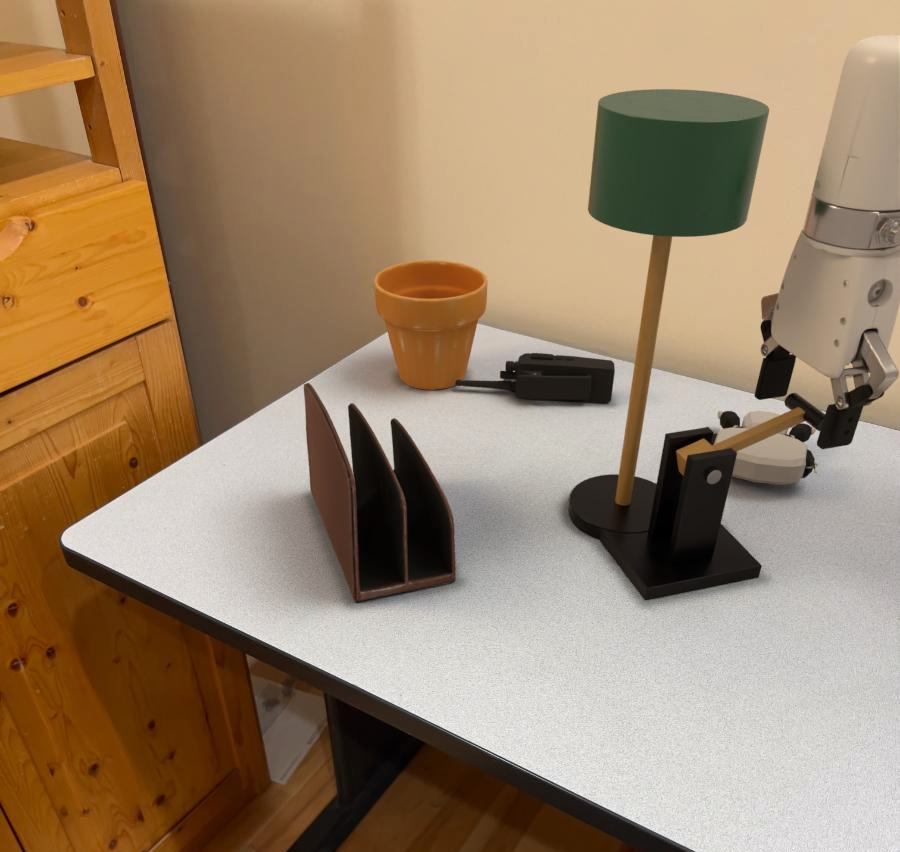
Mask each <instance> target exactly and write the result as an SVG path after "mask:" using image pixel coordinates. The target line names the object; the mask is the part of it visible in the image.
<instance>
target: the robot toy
mask: <svg viewBox="0 0 900 852" xmlns="http://www.w3.org/2000/svg"><path fill="white" fill-rule="evenodd" d="M780 415H781V414H779V413H775V412H770V411H764V410H754V411H749V412H748V413H747V414H745V415H744V416H743V419H742V422H741V418H740V416H739V415H738V414H737V412H735V411H733V410H725V411H723V410H718V411H717V418H718V420H719V425H720V427H721V428H720V429H719V430H718V432H717V433H713V438H712V442H711V445H715V444H717V443H719V442H721V441H724V440H726V439H728V438H730V437H733V436H735V435H737V434H739V433H741V432H744V431H746V430H748V429H750V428H753V427H755V426H757V425H759V424H762V423H764V422H766V421H768V420H771V419H773V418H775V417H777V416H780ZM788 431H789V432H788ZM816 432H817V430H816V429H815V428H814V427H812V426H811V425H810V424H808V423H806V422H805V423H804V422H802V423H800V424H798V425H795V426H793V427H791V428H790V430H789V429H786V430H784V431H782V432H780V433H777V434H775V435H773V436H771V437H768V438H766V439H764V440H762V441H759V442H757V443H755V444H753V445H751V446H748V447H746V448H744V449H742V450H739V451H737V457H736V461H735V465H734V469H733V474H732V477H733V478H737V479H741V480H745V481H749V482H753V483H762V484H769V485H773V486H781V485H786V486H787V485H791V484H792V485H793V484H796V483H799V482H800V481H801V479H806V478H807V477H809V475H810V474H811V473H812V472H813V473H814V474H818V471H819V469H818V462H815V461H816V458H815V457H814V455H813V452H812V451H811V450H810V449H808V445H807V444H806V442H807V441H809V440H810V438H811V436H813V435H814V434H815V433H816ZM813 470H814V471H813Z"/></svg>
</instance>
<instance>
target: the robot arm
mask: <svg viewBox="0 0 900 852" xmlns="http://www.w3.org/2000/svg"><path fill="white" fill-rule="evenodd" d="M899 307H900V34H883V35H882V34H881V35H872V36H868V37H866V38H863V39H860V40H859V41H857V42H856V43H855V44H854V45H852V47H851V48H850V50H849V51H848V53H846V56H845V58H844V61H843V65H842V69H841V71H840V76H839V80H838V85H837V88H836V92H835V97H834V101H833V105H832V109H831V113H830V118H829V121H828V125H827V130H826V134H825V137H824V143H823V146H822V150H821V155H820V159H819V162H818V166H817V171H816V175H815V179H814V183H813V187H812V192H811V195H810V199H809V203H808V207H807V211H806V215H805V218H804V223H803V228H802V229H801V230H800V233H799V235H798V238H797V240H796V242H795V244H794V246H793V250H792V252H791V254H790V257H789V260H788V263H787V265H786V268H785V272H784V275H783V278H782V281H781V283H780V288H779V291H778V292H776V293H773V294H772V293H771V294H768V295H764V296H762V298H761V300H760V309H761V320H762V321H761V323H760V328H759V329H760V333H761V337H762V341H763V343H762V344H761V346H760V354H761V356H762V357H763V358H762V362H761V366H760V369H759V374H758V379H757V382H756V386H755V391H754V398H756V400H758V401H762V400H769V399H775V398H782V397H785V396H787V395H788V392H789V388H790V383H791V380H792V376H793V372H794V369H795V365H796V359H799V360H800V361H802V362H803V363H805V364H806V365H808V366H809V367H811V368H812V369H814V370H815V371H816V372H818V373H820V374H822V375H823V376H825V377H826V378H829V380H830V384H831V389H832V395H833V400H834V403H831V404H828V405H827V407H826V410H825V412H824V414H825V417H824V420H823V423H822V427H821V430H820V431H819V434H818V437H817V440H816V446H817V447H818V448H819V449H821V450H827V449H833V448H839V447H845V446H849V445H851V444H852V442H853V440H854V436H855V434H856V430H857V427H858V425H859V422H860V417H861V416H862V412H863V409H864V407H868V406H870V405H871V404H872V403H873V402H874V401H876V400H879V399H880V398H882V397H883V396H884V394H885V393H886V392H885V391H888V389H890V387H891V386H892V385H893V384H894V383H895V381H897V380H898V378H899V375H900V374H899V373H900V372H899V370H898V367H897V365H896V364H895V362H894V360H893V358H892V357H891V355H890V353H889V352H888V349H889V346H890V344H891V339H892V335H893V332H894V329H895V324H896V320H897V316H898V313H899ZM850 364H851V365H852V367H848V368H846V366H849V365H850ZM869 374H870V375H869ZM851 378H852V379H853V385H854V388H853V389H852V390H850V391H849V388H848V381H847V379H851Z"/></svg>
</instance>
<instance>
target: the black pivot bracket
mask: <svg viewBox="0 0 900 852" xmlns="http://www.w3.org/2000/svg"><path fill="white" fill-rule="evenodd" d="M713 434H715V433H714V430H712V429H711V427H709V426H706V427H699V428H693V429H687V430H681V431H680V430H679V431H674V432H673V431H672V432H668V433H665V434H664V441H663V445H662V451H661V456H660V462H659V466H658V467H659V468H658V474H657V479H656V490H655V496H654V501H653V507H652V513H651V518H650V524H649V530H648V531H647V532H638V533H624V532H616V531H610V530H606V529H601V535H600V540H599V542H600V544H601V545H602V546H603V548H604V549H605V550H606V551H607V553H608V554H609V555H610V557H611V558H612V560H613V561H614V562H615V563H616V565H617V566H618V567H619V568H620V570H621V572H623V574H624V576H625V577H626V578H627V579H628V581H629V582H630V583H631V585H632V586H633V587H634V589H635V590H636V591H637V592H638V594H639V595H640V596H641V598H642V599H643V600H644V601H645V602H647V601H651V600H657V599H661V598H667V597H672V596H676V595H681V594H685V593H691V592H697V591H701V590H706V589H711V588H715V587H721V586H726V585H731V584H734V583H735V584H736V583H740V582H744V581H749V580H754V579H759V578H760V574H761V570H762V569H763V565H762V564H761V563H760V562H759V561H758V560H757V559H756V558H755V557H754V556H753V555H752V554H751V552H750V551H749V550H748V549H746V547H744V545H743V544H742V543H741V542H740V541H739V540H738V539H737V538H736V537H735V536H734V535H733V534H732V533H731V532H730V531H729V530H728V529H727V528H726V527H725V526H724V525H723V524H722V520H723V515H724V511H725V506H726V503H727V498H728V495H729V489H730V486H731V481H732V474H733V469H734V465H735V461H736V457H737V452H736V451H735V450H733V449H732V448H728V449H722V450H716V451H710V452H704V453H697V454H691V455H688V456H687V460H686V466H685V471H684V476H683V475H682V474H681V473H680V472H679V468H678V461H677V454H676V450H679V449H681V448H683V447H685V446H688V445H690V444H692V443H694V442H697V441H699V440H701V439H703V438H704V439H705V440H706V441H707V442H708V443H709V444H711V442H712V438H713Z"/></svg>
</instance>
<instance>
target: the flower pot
mask: <svg viewBox="0 0 900 852" xmlns="http://www.w3.org/2000/svg"><path fill="white" fill-rule="evenodd" d="M373 288H374V300H375V301H374V302H375V309H376V313H377V314H378V316H379V317H380V318H381V319H382V320H383V321H384V324H385V328H386V332H387V335H388V340H389V343H390V347H391V350H392V354H393V358H394V362H395V365H396V369H397V373H398V376H399V378H400V380H401V381H402V382H403V383H404V384H405V385H407V386H409V387H412V388H415V389H419V390H429V391H430V390H433V391H434V390H440V389H449V388H452V387H454V386H456V385H455V382H456V380H462V381H463V380H465V377H466V374H467V370H468V366H469V362H470V357H471V353H472V349H473V344H474V340H475V336H476V331H477V327H478V322H479V319H480V318H481V317H483V316H484V314H485V312H486V309H487V302H488V301H487V300H488V278H487V276H486V274H485V273H484V272H483V271H481V270H480V269H478V268H476V267H474V266H471V265H468V264H466V263H461V262H457V261H456V262H455V261H449V260H433V259H431V260H429V259H428V260H427V259H425V260H412V261H407V262H401V263H398V264H393V265H391V266H388V267H387V268H384V269H382V270H381V271H379V272H378V273H377V274H376V276H375V277H374V279H373Z"/></svg>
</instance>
